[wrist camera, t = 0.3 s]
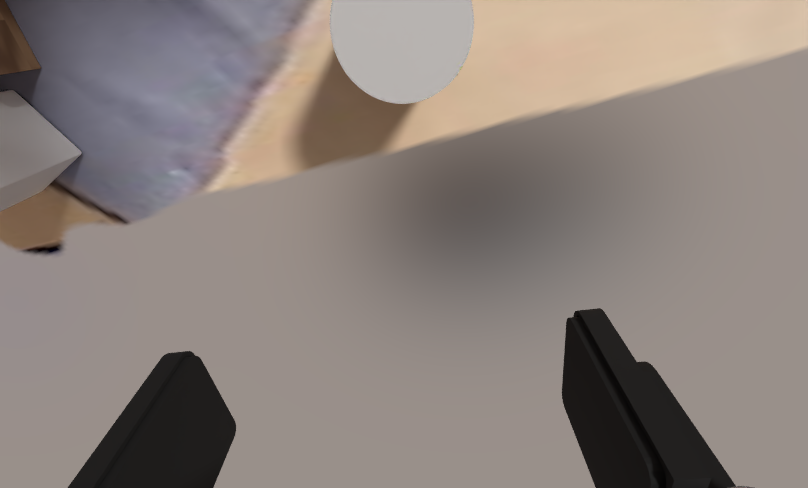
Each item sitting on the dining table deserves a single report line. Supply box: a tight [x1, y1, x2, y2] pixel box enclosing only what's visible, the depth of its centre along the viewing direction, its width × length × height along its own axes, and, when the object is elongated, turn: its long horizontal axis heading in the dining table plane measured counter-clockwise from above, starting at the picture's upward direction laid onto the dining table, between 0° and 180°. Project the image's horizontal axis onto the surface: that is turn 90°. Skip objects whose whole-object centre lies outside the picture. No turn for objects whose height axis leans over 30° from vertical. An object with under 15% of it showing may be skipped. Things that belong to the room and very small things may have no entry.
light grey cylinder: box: [330, 0, 474, 104], centre depth 28 cm, size 8×8×12 cm
